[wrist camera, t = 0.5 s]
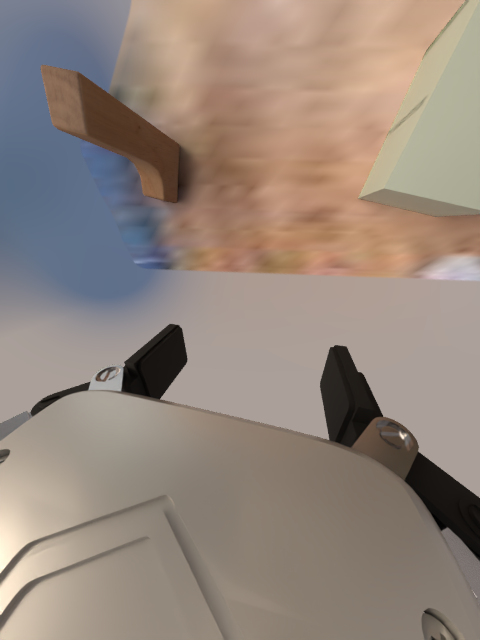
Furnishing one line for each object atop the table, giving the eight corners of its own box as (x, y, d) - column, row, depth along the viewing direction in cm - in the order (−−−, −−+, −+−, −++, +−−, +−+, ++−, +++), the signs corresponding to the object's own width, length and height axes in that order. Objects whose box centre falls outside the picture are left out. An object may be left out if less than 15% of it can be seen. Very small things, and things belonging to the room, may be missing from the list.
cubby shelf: (426, 50, 22) (506, -53, 14) (537, 66, 21) (697, -36, 13) (358, 198, 30) (383, 188, 21) (436, 216, 28) (494, 213, 20)
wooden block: (177, 203, 37) (95, 188, 21) (157, 198, 37) (62, 178, 22) (180, 144, 32) (77, 69, 17) (157, 139, 33) (36, 61, 17)
